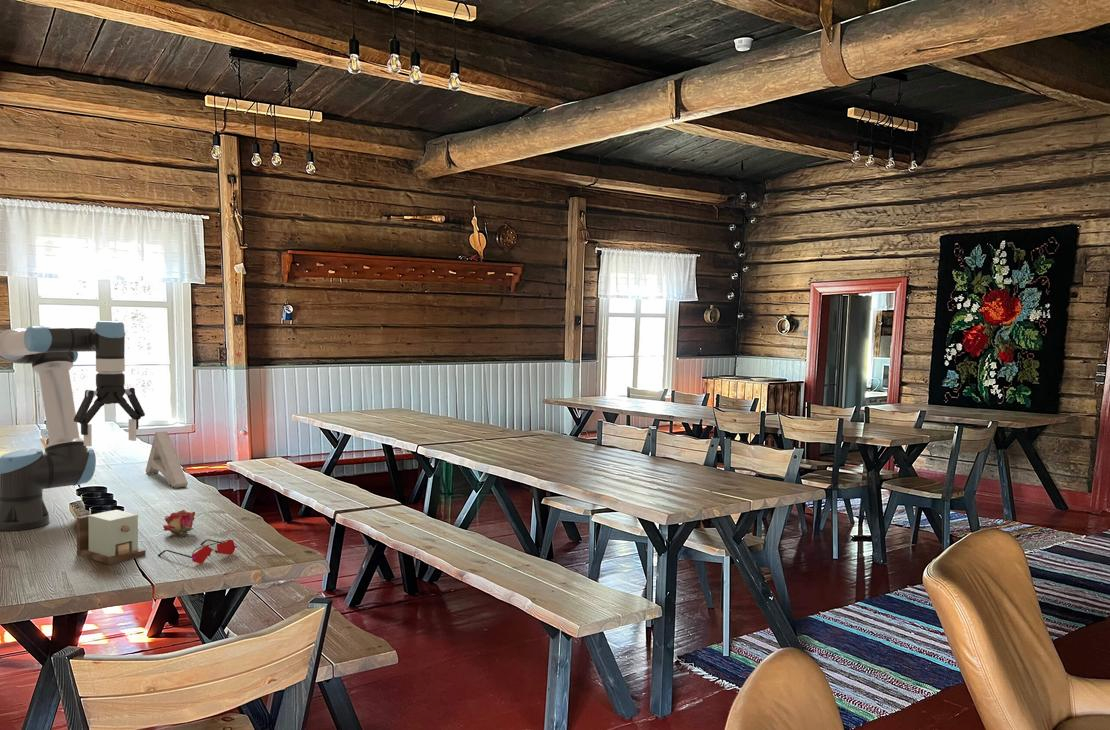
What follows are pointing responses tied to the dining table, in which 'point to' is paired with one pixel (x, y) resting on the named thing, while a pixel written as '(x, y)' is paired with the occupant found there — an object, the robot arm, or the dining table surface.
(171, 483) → the wooden letter a
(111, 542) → the cabinet block
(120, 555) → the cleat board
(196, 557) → the glasses
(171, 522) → the flower
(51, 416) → the robot arm
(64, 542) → the dining table surface
